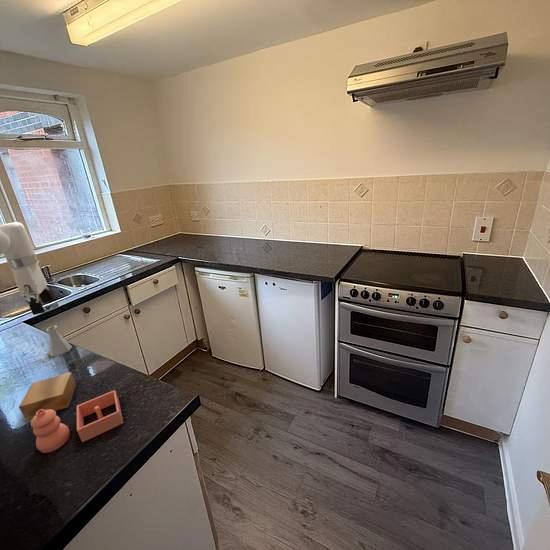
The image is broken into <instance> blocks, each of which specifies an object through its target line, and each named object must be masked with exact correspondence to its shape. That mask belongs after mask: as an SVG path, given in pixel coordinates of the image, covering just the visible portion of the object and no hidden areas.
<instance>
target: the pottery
mask: <svg viewBox="0 0 550 550" xmlns="http://www.w3.org/2000/svg"><path fill="white" fill-rule="evenodd" d="M113 405H115V408H116V411H114V412H113V413H111V414H107V415H106V416H104V415H103V413H102V410H103V409H105V408H108V407H110V406H113ZM94 413H95V414H96V416H97V420H94V421H92V422H90V423H88V424H86V425H84V423H85V422H84V420H85V419H84V417H87V416H90V415H91V414H94ZM122 424H124V419H123V414H122V409H121V403H120V400H119V397H118V395H117V391H116V390H115V389H113V390H111V391H109V392H107V393H104V394H102V395H100V396H96V397H95V398H92V399H90V400H87V401H85V402H83V403H80V404H78V405H76V433H77V434H78V436H79V439H80V441H81V443H84V442H86V441H88V440H90V439H92V438H95V437H97V436H99V435H101V434H103V433H106V432H108V431H110V430H112V429H114V428H116V427H118V426H121V425H122ZM30 427H31V428H32V432H33V435H34V436H35V437H36V439H35V446H36V447H35V448H36V449H37V451H39V452H40V453H42V454H48V453H52V452H54V451H56V450H58V449H60V448H61V447H62V446H63V445H65V444H66V442H67V441H69V438H70V434H71V433H70V429H69V427H68V426H67V424H65V423H61V418H60V416H58V415H57V411H54V410H52V409H49V410H44V409H40V410H38V411H37V412H36V416H34V418H31V419H30Z"/></svg>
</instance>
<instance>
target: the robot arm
mask: <svg viewBox="0 0 550 550" xmlns="http://www.w3.org/2000/svg"><path fill="white" fill-rule="evenodd" d="M0 255H4V258H5V260H6V262H7V264H8V266H9V268H10V270H12V275H13V278H14V282H15V284H16V287H17V289H18V292H19V294H20V296H21V298H23V299H24V301H25V303H27V305H28V307H29V309H30V311H31V313H32V315H34V316H35V315H39V314H40V315H41V314H44V313H45V309H44V306H43V304H46V303H51V302H54V299H53V297H52V294H51V291H50V288H49V287H48V283H47V280H46V278H45V276H44V273H43V271H42V269H41V267H40V265H39V263H40V260H39V258H38V256H37V254H36V252H35V248H34V247H33V245H32V242H31V240H30V237H29V235H28V233H27V229H26V228H25V226H24V225H23V223H21V222H8V223H3V224H0ZM39 299H40V300H41V301H40V300H39ZM42 303H43V304H42Z"/></svg>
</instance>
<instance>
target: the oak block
mask: <svg viewBox="0 0 550 550" xmlns="http://www.w3.org/2000/svg"><path fill="white" fill-rule="evenodd" d="M76 387H77V381H76V380H75V377H74V374H73V373H72V372H71V371H70V372H67V373H64V374H59V375H56V376H53V377H49V378H45V379H41V380H39V381H35V382H31V384H30V386H29V388H28V390H27V392H26V393H25V395H24V397H23V399H22V400H21V402H20V404H19V405H18V409H19V410H20V412H21V414H22V416H23V418H24V420H25V421H28V420H32V419H33V418H34V416H36V412H37V411H38V410H40V409H44V410H49V409H52V410H54V411H55V412H57V411H60V410H63V409H66V408H69V406H70V404H71V401H72V398H73V396H74V392H75V389H76Z"/></svg>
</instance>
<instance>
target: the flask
mask: <svg viewBox="0 0 550 550" xmlns="http://www.w3.org/2000/svg"><path fill="white" fill-rule="evenodd" d="M45 330H46V332H47V334H48V336H49V350H48V351H49V352H48V355H49V356H50V357H52V358H53V357H58V356H61V355H63V354H66V353H68V352H70V350H71V349H72V348H73V346H72V345H71V344H70V343H69V342H68V341H67V340H66V339H65V338H64V337H63V336H62V335H61V334H60V333H59V331H58V326H57V325H52V326H49V327H47V328H46V329H45Z"/></svg>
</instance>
